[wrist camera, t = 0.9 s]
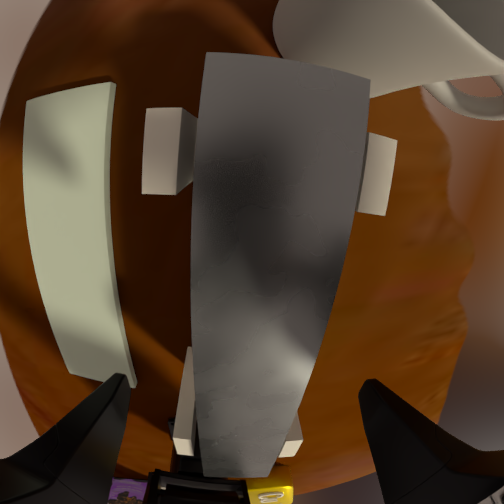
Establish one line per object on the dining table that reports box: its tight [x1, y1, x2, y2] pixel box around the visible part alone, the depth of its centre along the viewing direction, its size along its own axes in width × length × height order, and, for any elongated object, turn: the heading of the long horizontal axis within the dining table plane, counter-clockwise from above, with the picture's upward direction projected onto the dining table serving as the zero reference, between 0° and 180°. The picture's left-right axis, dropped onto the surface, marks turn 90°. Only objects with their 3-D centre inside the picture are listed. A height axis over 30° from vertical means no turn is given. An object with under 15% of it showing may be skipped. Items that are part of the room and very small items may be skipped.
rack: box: [142, 108, 397, 457], centre depth 13 cm, size 18×7×8 cm, turn 174°
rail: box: [191, 52, 371, 478], centre depth 11 cm, size 20×4×4 cm, turn 174°
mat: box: [23, 82, 137, 388], centre depth 16 cm, size 23×7×1 cm, turn 174°
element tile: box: [228, 465, 293, 504], centre depth 30 cm, size 15×15×5 cm
